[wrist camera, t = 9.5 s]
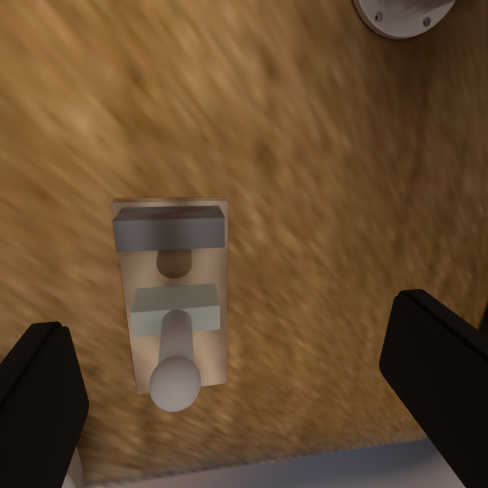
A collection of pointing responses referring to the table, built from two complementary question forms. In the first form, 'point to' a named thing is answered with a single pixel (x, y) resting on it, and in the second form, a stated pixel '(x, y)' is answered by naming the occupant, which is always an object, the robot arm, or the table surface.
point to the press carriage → (175, 337)
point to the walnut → (174, 262)
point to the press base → (202, 272)
